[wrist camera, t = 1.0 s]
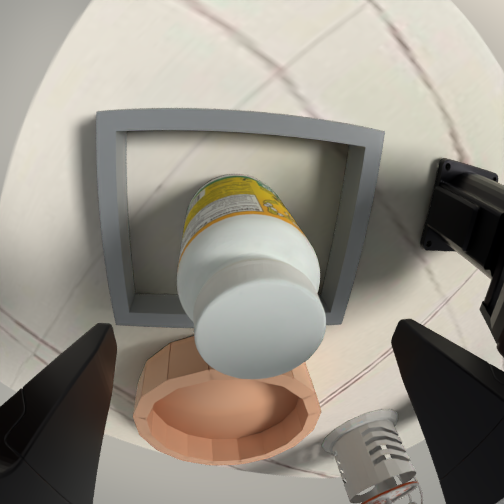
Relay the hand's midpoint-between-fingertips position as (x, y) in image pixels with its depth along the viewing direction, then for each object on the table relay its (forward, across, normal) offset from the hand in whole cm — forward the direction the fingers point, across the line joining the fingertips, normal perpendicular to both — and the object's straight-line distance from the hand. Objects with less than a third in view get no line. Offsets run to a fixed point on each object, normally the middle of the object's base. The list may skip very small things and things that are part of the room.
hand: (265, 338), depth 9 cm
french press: (+10, -17, +26) cm, 33 cm away
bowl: (+10, 0, +15) cm, 18 cm away
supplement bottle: (+10, 0, 0) cm, 10 cm away
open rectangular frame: (+10, 0, 0) cm, 10 cm away
